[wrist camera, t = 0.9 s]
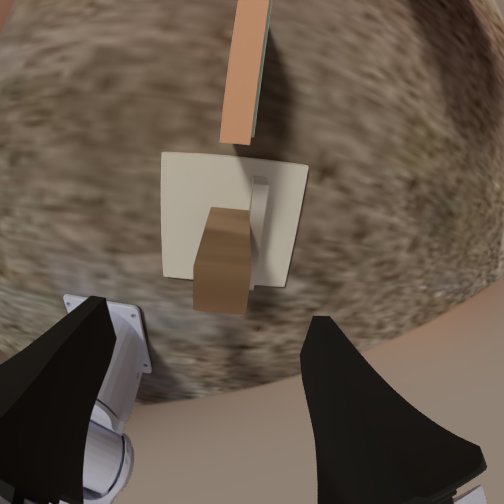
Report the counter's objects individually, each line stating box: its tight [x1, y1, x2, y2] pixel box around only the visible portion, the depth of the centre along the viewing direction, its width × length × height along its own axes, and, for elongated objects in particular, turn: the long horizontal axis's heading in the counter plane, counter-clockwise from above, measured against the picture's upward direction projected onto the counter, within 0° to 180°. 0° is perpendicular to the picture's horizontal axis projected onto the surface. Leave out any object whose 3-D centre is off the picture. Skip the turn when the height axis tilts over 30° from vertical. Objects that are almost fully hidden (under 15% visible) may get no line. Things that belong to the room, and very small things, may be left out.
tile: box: [220, 0, 272, 145], centre depth 11 cm, size 8×1×6 cm, turn 173°
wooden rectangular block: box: [193, 175, 269, 315], centre depth 15 cm, size 7×3×7 cm, turn 173°
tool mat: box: [161, 152, 309, 287], centre depth 18 cm, size 9×9×1 cm
